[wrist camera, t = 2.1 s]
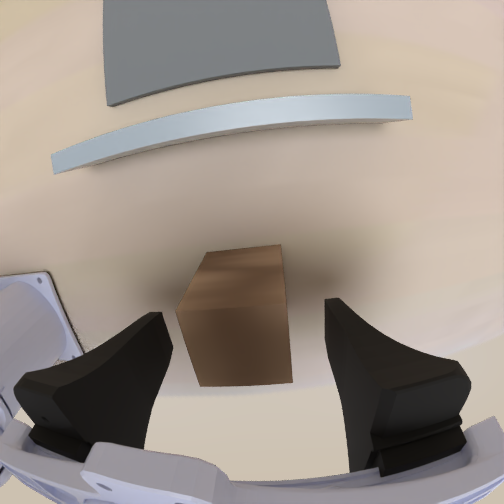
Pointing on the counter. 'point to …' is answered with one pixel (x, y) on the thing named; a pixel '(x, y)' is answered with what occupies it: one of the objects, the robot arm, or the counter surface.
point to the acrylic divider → (234, 124)
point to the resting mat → (209, 42)
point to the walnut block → (238, 319)
